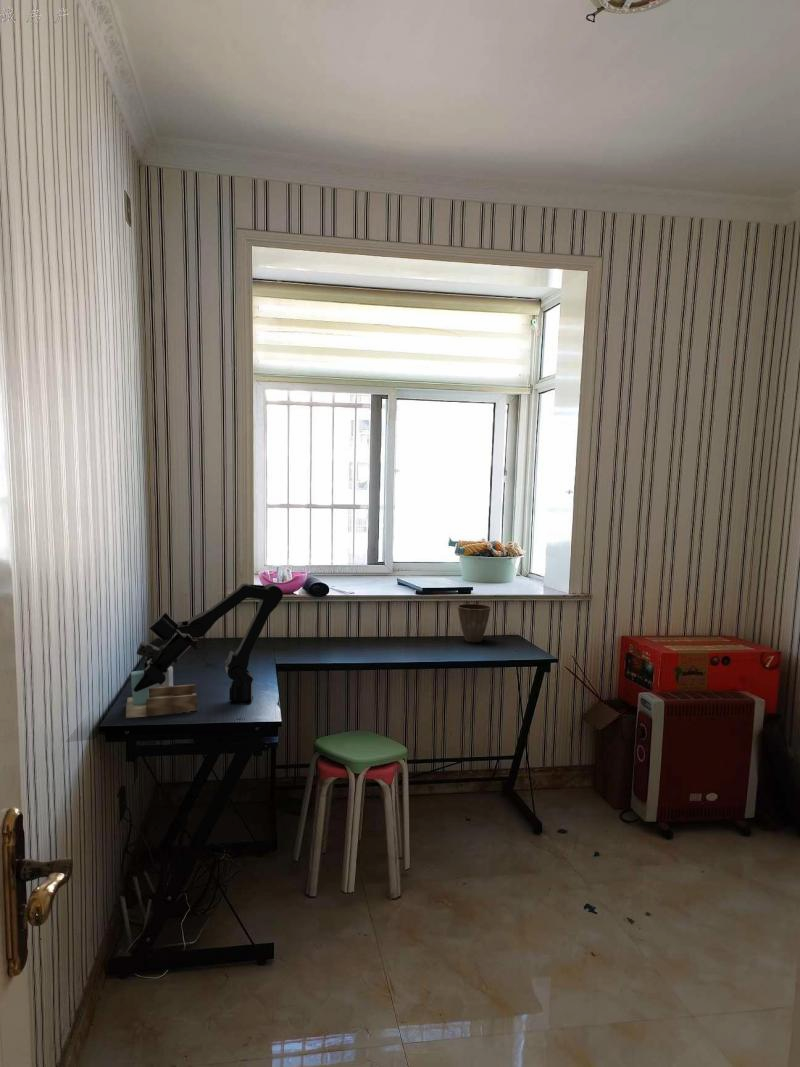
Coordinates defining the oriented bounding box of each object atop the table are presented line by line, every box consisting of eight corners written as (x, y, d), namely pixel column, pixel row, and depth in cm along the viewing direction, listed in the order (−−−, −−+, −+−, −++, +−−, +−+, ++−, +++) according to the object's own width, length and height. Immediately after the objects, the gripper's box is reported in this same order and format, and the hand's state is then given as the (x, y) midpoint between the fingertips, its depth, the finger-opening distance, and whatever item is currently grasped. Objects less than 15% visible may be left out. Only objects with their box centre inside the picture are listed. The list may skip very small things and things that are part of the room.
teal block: (148, 698, 202) (147, 669, 201) (148, 702, 198) (147, 673, 197) (133, 700, 200) (131, 671, 200) (132, 705, 196) (131, 675, 195)
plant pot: (453, 637, 309) (454, 603, 308) (483, 636, 312) (484, 603, 311) (461, 644, 295) (462, 609, 294) (493, 644, 297) (494, 609, 296)
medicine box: (173, 691, 218) (173, 666, 218) (169, 695, 214) (169, 669, 213) (149, 691, 218) (149, 665, 218) (144, 695, 214) (144, 669, 213)
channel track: (195, 699, 210) (195, 684, 210) (197, 711, 199) (197, 695, 199) (127, 705, 203) (127, 689, 203) (126, 718, 192) (125, 701, 192)
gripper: (153, 626, 208) (115, 663, 205) (153, 639, 190) (112, 680, 187) (179, 649, 211) (142, 686, 208) (182, 664, 194) (141, 704, 190)
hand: (134, 688), depth 198 cm, fingers closed on teal block, 4 cm apart
